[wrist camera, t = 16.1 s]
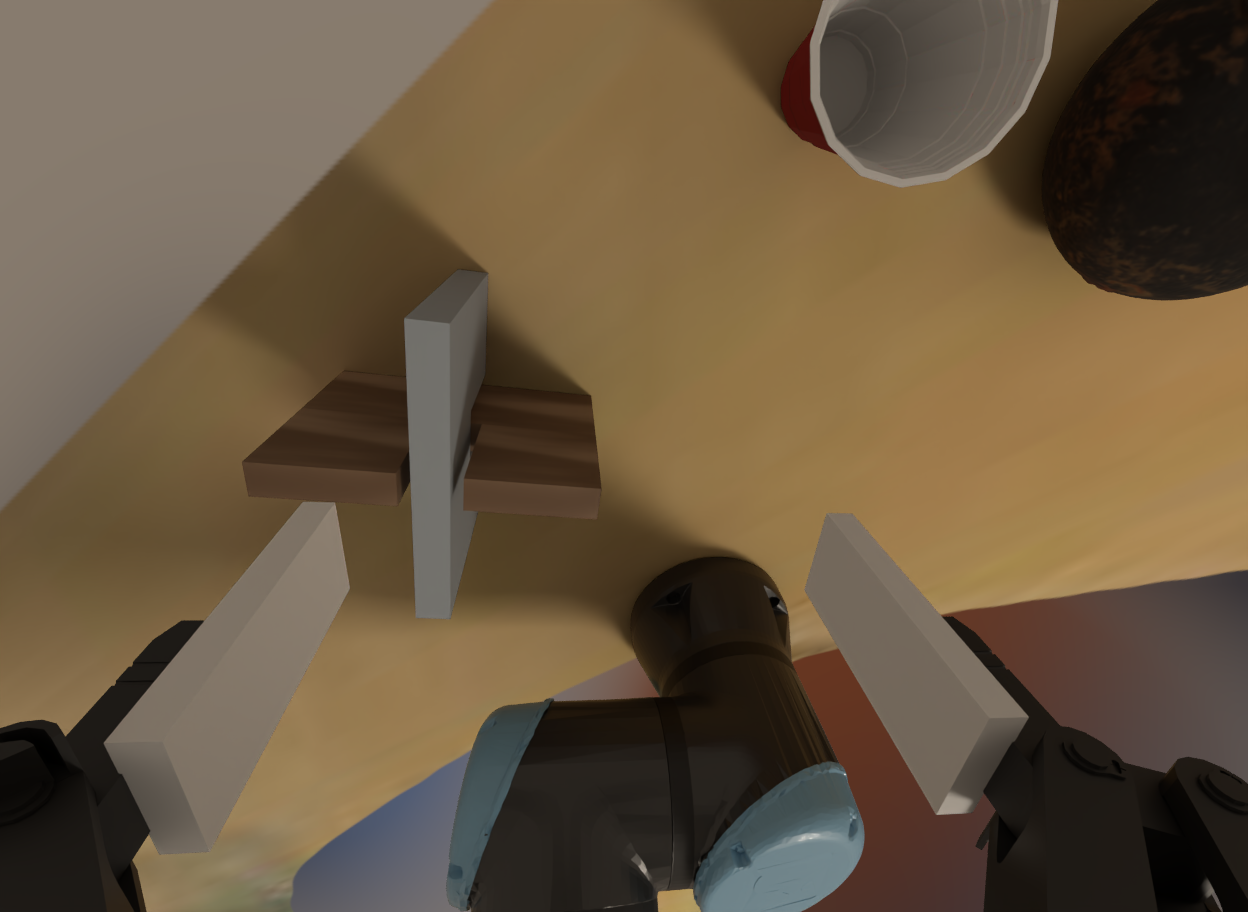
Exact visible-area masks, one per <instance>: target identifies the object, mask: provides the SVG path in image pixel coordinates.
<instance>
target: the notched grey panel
mask: <svg viewBox="0 0 1248 912" xmlns="http://www.w3.org/2000/svg"><path fill="white" fill-rule="evenodd" d="M487 299H488V273H483V272H476V271H468V270H460V269H458V270H457V271H456V272H455V273H453V274H452V275H451V276H450V277H449V278H448V279H447V280H446V281H445V282H444V283H442V284H441V285H440V286H439V287H438V288H437V289H436V290H435V291H434V292H433V293H431V294H430V295H429V296H428V297H427V298H426V299H425V300H424V301H423V302H422V303H420V304H419V305H418V306H417V307H416V308H415V309H414V310H413V311H412V312H411V313H409V314H408V315H407V316H406V317H405V318H404V328H405V353H406V379H407V404H408V430H409V455H410V481H411V506H412V532H413V557H414V582H415V608H416V618H435V619H451V615H452V611H453V607H454V603H455V599H456V595H457V591H458V588H459V584H460V580H461V576H462V572H463V568H464V564H465V560H466V556H467V553H468V549H469V545H470V541H471V537H472V533H473V529H474V525H475V522H476V518H477V514H478V511H463V496H464V476H465V473H466V470H467V467H468V464H469V461H470V458H471V455H472V452H473V451H470V433H471V410H472V407H473V405H474V402H475V399H476V397H477V394H478V392H479V389H480V387H481V384H482V382H483V379H484V377H485V369H486V334H487Z"/></svg>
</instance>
